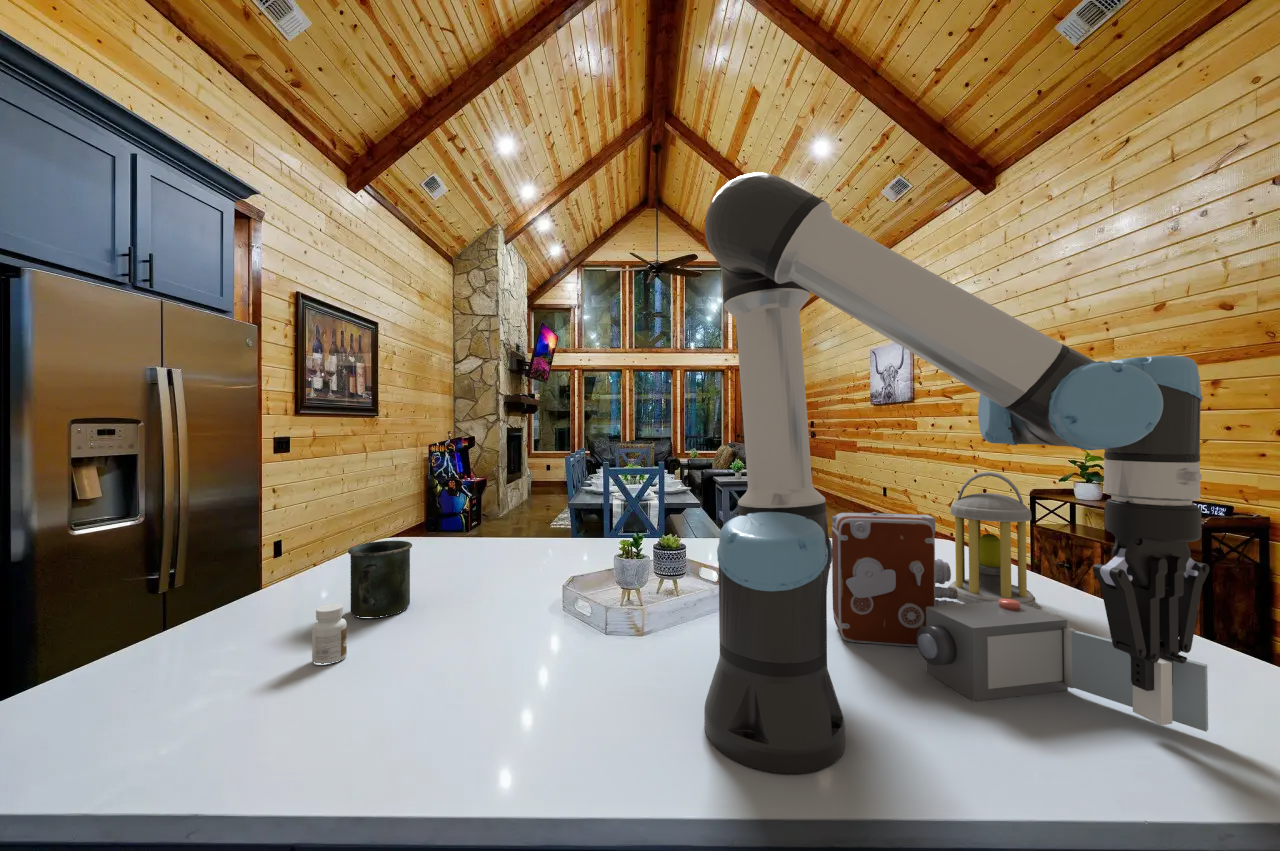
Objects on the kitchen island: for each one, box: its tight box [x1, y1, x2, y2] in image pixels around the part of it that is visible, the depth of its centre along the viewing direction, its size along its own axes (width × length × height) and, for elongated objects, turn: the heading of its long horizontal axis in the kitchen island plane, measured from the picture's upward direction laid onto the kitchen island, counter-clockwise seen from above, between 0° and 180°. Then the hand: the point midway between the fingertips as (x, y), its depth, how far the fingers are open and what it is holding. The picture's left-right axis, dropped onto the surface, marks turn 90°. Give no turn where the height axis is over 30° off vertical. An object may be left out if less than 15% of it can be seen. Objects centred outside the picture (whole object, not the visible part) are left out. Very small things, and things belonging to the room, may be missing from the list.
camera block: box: [917, 599, 1069, 702], centre depth 70 cm, size 16×8×10 cm, turn 101°
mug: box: [347, 540, 413, 617], centre depth 97 cm, size 11×15×12 cm
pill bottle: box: [311, 603, 348, 664], centre depth 77 cm, size 4×4×8 cm
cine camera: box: [831, 511, 965, 648], centre depth 84 cm, size 9×19×20 cm, turn 78°
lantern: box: [948, 471, 1037, 608], centre depth 104 cm, size 14×14×25 cm
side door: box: [1064, 627, 1209, 733], centre depth 62 cm, size 13×1×7 cm, turn 33°
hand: (1152, 717), depth 57 cm, fingers closed
